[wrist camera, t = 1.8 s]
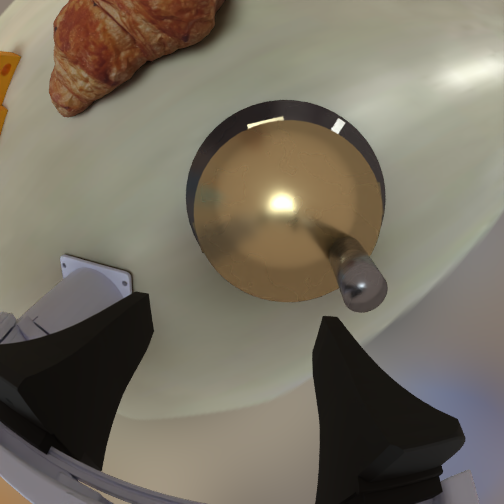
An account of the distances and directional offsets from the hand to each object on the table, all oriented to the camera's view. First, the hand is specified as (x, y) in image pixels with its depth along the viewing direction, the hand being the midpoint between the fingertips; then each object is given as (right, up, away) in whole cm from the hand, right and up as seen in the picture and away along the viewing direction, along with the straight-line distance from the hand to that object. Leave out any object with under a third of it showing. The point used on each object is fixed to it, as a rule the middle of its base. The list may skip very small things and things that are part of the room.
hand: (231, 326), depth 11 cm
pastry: (-7, +21, +2) cm, 22 cm away
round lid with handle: (+3, +6, +6) cm, 9 cm away
